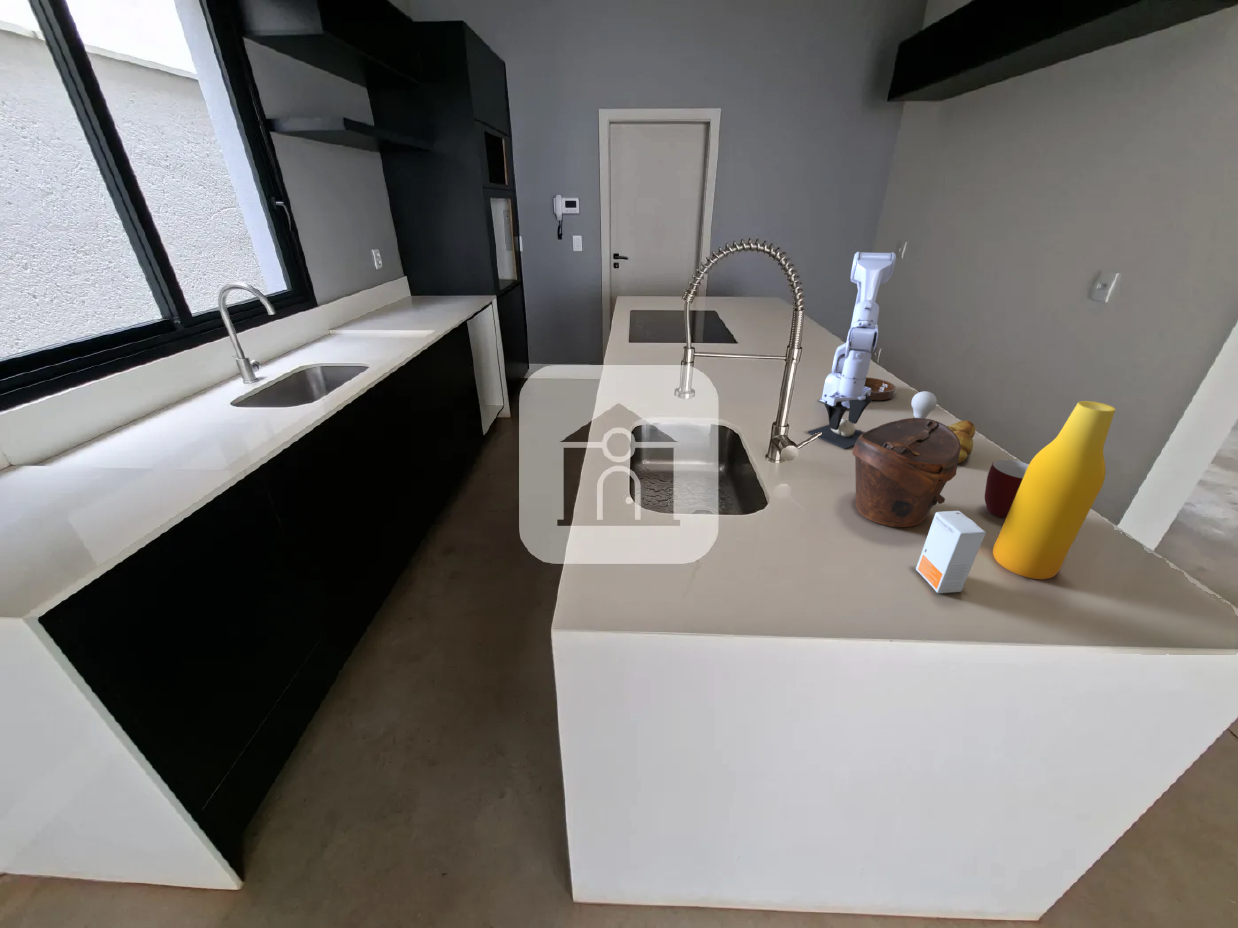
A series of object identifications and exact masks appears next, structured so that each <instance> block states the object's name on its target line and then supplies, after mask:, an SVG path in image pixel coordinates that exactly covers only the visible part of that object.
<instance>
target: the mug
mask: <svg viewBox="0 0 1238 928" xmlns="http://www.w3.org/2000/svg"><path fill="white" fill-rule="evenodd" d="M1029 464H1030V463H1027V462H1023V461H1020V460H1013V459H997V460H994V461H993V462H992V463H991V465H990V467H989V470H988V473H987V477H986V482H985V483H986V484H985V490H984V503H985V506H986V510H987V512H989V514H991V515H992V516H995V517H998V518H1001V519H1002V518H1003V519H1006V517H1007V515H1008V513H1009V510H1010V508H1011V506H1012V503H1013V501H1014V499H1015V496H1016V494H1017V491H1018V489H1019V487H1020V484H1021V482H1022V480H1023V477H1024V475H1025V472H1026V470H1027V467H1028V466H1029Z"/></svg>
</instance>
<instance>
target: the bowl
mask: <svg viewBox="0 0 1238 928" xmlns="http://www.w3.org/2000/svg"><path fill="white" fill-rule="evenodd" d="M864 387H868V388H871V393H870V396H867V397H869V398H871V399H872V400H871V401H885V400H890V399H892V398H893V397H895V393H896V390H897V386H896V385H895V384H894V383H892V382H890V381H887V380H884V379H880V378H875V377H867V376H866V381H865V385H864Z"/></svg>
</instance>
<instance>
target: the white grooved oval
mask: <svg viewBox="0 0 1238 928" xmlns="http://www.w3.org/2000/svg"><path fill="white" fill-rule="evenodd" d="M855 429H856V424H854V423H852V422H850V421H848V419H845V418H842V419H841V422H840V425H839V428H838V430H834V429H831V430H832V431H833V432H834V433H836V434H839V435H841V436H844V437H849V436H852V435H853V434H854V432H855Z"/></svg>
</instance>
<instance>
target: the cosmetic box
mask: <svg viewBox="0 0 1238 928" xmlns="http://www.w3.org/2000/svg"><path fill="white" fill-rule="evenodd" d="M986 534H987V533H986V530H984V529H983V528H981V527H980V526H979V525H978V524H977V523H976V522H975V521H974V520H972V519H971V518H969V517H968V516H967V515H965V514H964V513H963V512H962V511H960V510H948V511H946V510H945V511H936V512H935V513H934V516H933V518H932V522H931V525H930V528H929V530H928V534H927V536H926V539H925V542H924V543H923V544H924V545H923V546H922V550H921V553H920V556H919V558H918V561H917V564H916V567H915V570H916V572H917V573H919V574H920V576H921V577H922V578H923V580H925V581H926V582H927V583H928V584H929V585H930V587H931V588H932V589H933V590H934V591H935V592H936V593H937V594H947V593H960V592H962V591H963V589H964V587H965V585H966V582H967V579H968V578H969V577H968V576H969V574H970V572H971V569H972V567H973V566H974V562H975V561H976V558H977V555H978V553H979V550H980V547H981V545H982V543H983V542H984V541H983V540H984V539H985V536H986Z"/></svg>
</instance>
